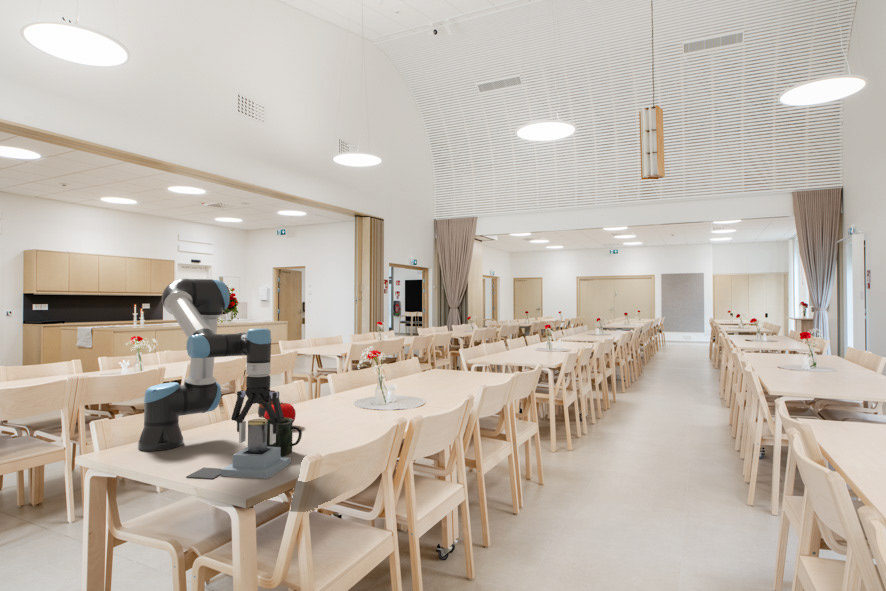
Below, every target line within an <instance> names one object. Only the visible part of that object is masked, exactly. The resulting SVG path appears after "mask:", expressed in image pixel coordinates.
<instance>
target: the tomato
mask: <svg viewBox="0 0 886 591" xmlns="http://www.w3.org/2000/svg"><path fill="white" fill-rule="evenodd" d="M280 404H281V408H282V412H283V416H284V418H291V419H293V420H294V421H295V420H296V409H295V408H294V405H292V404H290V403H286V402H282V401H280ZM271 406H272V408H273V409H274V405H271ZM274 411H275V409H274ZM263 418H264V419H270V417H269V415H268V414H267V412H265V415H264V417H263Z"/></svg>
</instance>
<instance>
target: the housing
mask: <svg viewBox="0 0 886 591" xmlns="http://www.w3.org/2000/svg"><path fill="white" fill-rule="evenodd" d="M280 456H281V447H267V452H266V453H264V454H262V455H261V454H248V446H247V447H245V448H243V449H242V450H240V451H237V452H236V453H234V454H232V462H231V463H230V464H228V465H226V466H224V467H222V468H220V469H221V475H220V476H221V477H234V478H235V477H236V478H248V479H249V478H250V479H251V478H252V479H265V480H266V479H267V480H268V479H270V478H271V477H273V476H274V475H276V474H277V473H279V472H280V471H281V470H283V469H284V468H286V467H287V466H289V465H290V464H291V462H292V461H291V459H292V458H291V457H289V456H281V457H280Z"/></svg>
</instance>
